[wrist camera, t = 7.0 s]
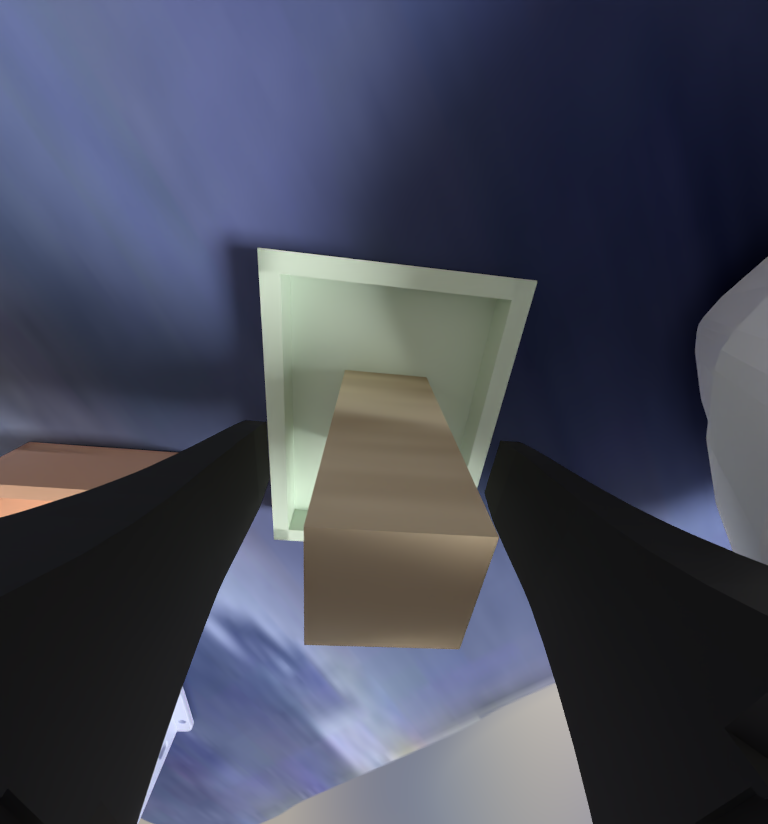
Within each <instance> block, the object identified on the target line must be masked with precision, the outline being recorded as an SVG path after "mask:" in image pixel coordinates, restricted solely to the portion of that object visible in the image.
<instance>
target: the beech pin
mask: <svg viewBox="0 0 768 824" xmlns="http://www.w3.org/2000/svg"><path fill="white" fill-rule="evenodd" d="M498 539H499V536H498V534H497V532H496V530H495V527H494V525H493V523H492V521H491V519H490V516H489V514H488V512H487V510H486V508H485V505H484V503H483V501H482V499H481V496H480V494H479V492H478V490H477V488H476V485H475V483H474V481H473V479H472V477H471V474H470V472H469V470H468V468H467V466H466V463H465V461H464V459H463V457H462V455H461V452H460V450H459V448H458V446H457V444H456V441H455V439H454V437H453V435H452V432H451V430H450V428H449V426H448V424H447V421H446V419H445V417H444V415H443V413H442V410H441V408H440V406H439V404H438V402H437V399H436V397H435V395H434V393H433V391H432V388H431V386H430V384H429V382H428V379H427V377H418V376H407V375H396V374H385V373H374V372H363V371H352V370H345V372H344V376H343V380H342V383H341V387H340V391H339V395H338V399H337V402H336V406H335V410H334V414H333V417H332V421H331V425H330V429H329V433H328V436H327V440H326V444H325V448H324V451H323V455H322V459H321V463H320V467H319V470H318V474H317V478H316V482H315V486H314V489H313V493H312V497H311V501H310V504H309V508H308V512H307V516H306V520H305V523H304V645H330V646H365V647H401V648H436V649H460V646H461V643H462V641H463V638H464V635H465V632H466V629H467V626H468V624H469V621H470V618H471V615H472V612H473V610H474V607H475V604H476V601H477V598H478V595H479V593H480V590H481V587H482V584H483V581H484V579H485V576H486V573H487V570H488V567H489V564H490V562H491V559H492V556H493V553H494V550H495V548H496V545H497V542H498Z"/></svg>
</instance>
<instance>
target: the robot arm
mask: <svg viewBox="0 0 768 824" xmlns="http://www.w3.org/2000/svg"><path fill="white" fill-rule="evenodd" d="M269 478H270V475H269V458H268V441H267V424H266V422H261V421H249V420H245V421H242V422H240V423H237V424H235V425H233V426H231V427H229V428H227V429H225V430H223V431H221V432H219V433H217V434H215V435H213V436H211V437H209V438H207V439H206V440H204V441H202V442H200V443H198V444H196V445H194V446H192V447H190V448H188V449H186V450H184V451H181V452H179V453H177V454H175V455H173V456H171V457H168V458H166V459H164V460H162V461H160V462H158V463H155V464H153V465H151V466H149V467H147V468H144V469H142V470H140V471H137V472H135V473H132V474H130V475H127V476H125V477H122V478H120V479H117V480H114V481H112V482H109V483H106V484H104V485H101V486H98V487H96V488H93V489H90V490H87V491H84V492H81V493H78V494H75V495H72V496H69V497H66V498H62V499H59V500H56V501H53V502H50V503H47V504H44V505H41V506H37V507H34V508H31V509H28V510H25V511H21V512H18V513H15V514H11V515H7V516H4V517H0V824H138V823H139V820H140V818H141V816H142V813H143V811H144V808H145V806H146V804H147V801H148V799H149V796H150V794H151V792H152V789H153V787H154V785H155V782H156V780H157V777H158V775H159V773H160V770H161V768H162V765H163V763H164V761H165V758H166V756H167V753H168V751H169V749H170V746H171V744H172V742H173V739H174V737H175V734H176V732H177V731H190V730H191V729H192V727H193V724H194V721H193V718H192V714H191V711H190V708H189V705H188V702H187V698H186V695H185V692H184V689H183V683H184V681H185V678H186V675H187V672H188V670H189V667H190V664H191V661H192V659H193V656H194V653H195V651H196V648H197V645H198V642H199V640H200V637H201V634H202V632H203V629H204V626H205V624H206V621H207V619H208V616H209V614H210V611H211V608H212V606H213V603H214V601H215V598H216V596H217V593H218V591H219V589H220V587H221V584H222V582H223V580H224V578H225V576H226V574H227V572H228V570H229V568H230V566H231V564H232V562H233V560H234V558H235V556H236V554H237V552H238V550H239V548H240V546H241V544H242V542H243V540H244V538H245V536H246V534H247V532H248V530H249V528H250V526H251V524H252V522H253V520H254V518H255V516H256V514H257V512H258V510H259V508H260V505H261V502H262V499H263V497H264V494H265V491H266V488H267V485H268V482H269ZM485 495H486V499H487V503H488V507H489V510H490V513H491V516H492V520H493V522H494V525H495V527H496V529H497V532H498V534H499V536H500V538H501V541H502V543H503V545H504V547H505V550H506V552H507V554H508V556H509V558H510V561H511V563H512V565H513V567H514V569H515V572H516V574H517V576H518V578H519V580H520V583H521V585H522V587H523V589H524V591H525V594H526V596H527V599H528V601H529V604H530V606H531V609H532V612H533V615H534V618H535V621H536V624H537V627H538V629H539V632H540V635H541V638H542V641H543V644H544V647H545V650H546V654H547V657H548V660H549V663H550V666H551V670H552V673H553V676H554V679H555V682H556V685H557V689H558V692H559V696H560V699H561V702H562V706H563V710H564V713H565V717H566V720H567V724H568V727H569V731H570V734H571V738H572V742H573V745H574V749H575V753H576V757H577V761H578V765H579V769H580V773H581V777H582V781H583V785H584V789H585V793H586V796H587V801H588V805H589V809H590V813H591V817H592V822H593V824H768V565H766V564H763V563H761V562H758V561H755V560H753V559H750V558H748V557H745V556H743V555H740V554H737V553H735V552H733V551H730V550H728V549H725V548H723V547H721V546H718V545H716V544H713V543H711V542H709V541H706V540H704V539H701V538H699V537H697V536H694V535H692V534H690V533H688V532H685V531H683V530H681V529H679V528H677V527H674V526H672V525H670V524H668V523H666V522H664V521H662V520H660V519H658V518H656V517H654V516H651V515H649V514H647V513H645V512H643V511H641V510H639V509H637V508H635V507H633V506H631V505H629V504H628V503H626V502H624V501H622V500H620V499H618V498H617V497H615V496H613V495H611V494H609V493H607V492H606V491H604V490H602V489H600V488H598V487H597V486H595V485H593V484H592V483H590V482H588V481H586V480H585V479H583V478H581V477H580V476H578V475H576V474H575V473H573V472H571V471H570V470H568V469H566V468H565V467H563V466H561V465H560V464H558V463H556V462H555V461H553V460H551V459H550V458H548V457H547V456H545V455H543V454H541V453H540V452H538V451H536V450H534V449H533V448H531V447H529V446H527V445H525V444H523V443H520V442H513V441H500V444H499V447H498V450H497V454H496V457H495V460H494V463H493V467H492V470H491V473H490V477H489V480H488V483H487V486H486V490H485Z"/></svg>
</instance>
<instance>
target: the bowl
mask: <svg viewBox="0 0 768 824" xmlns="http://www.w3.org/2000/svg"><path fill="white" fill-rule="evenodd" d="M695 356H696V364H697V372H698V380H699V388H700V395H701V401H702V404H703V407H704V410H705V413H706V416H707V419H708V427H707V435H706V442H707V448H708V455H709V461H710V468H711V475H712V481H713V488H714V494H715V501H716V505H717V508H718V511H719V514H720V516H721V519H722V522H723V525H724V528H725V530H726V533H727V536H728V539H729V541H730V544H731V547H732V550H733V552H735V553H737V554H740V555H743V556H745V557H748V558H750V559H753V560H755V561H758V562H761V563H763V564H766V565H768V257H767V258H765V259H764V260H763V261H762V262H761V263H760V264H759V265H757V266H756V267H755V268H754V269H753V270H752V271H751V272H749V273H748V274H747V275H746V276H745V277H744V278H743V279H741V280H740V281H739V282H738V283H737V284H736V285H734V286H733V287H732V288H731V289H730V290H729V291H728V292H726V293H725V294H724V295H723V296H722V297H721V298H720V299H719V300H718V301H717V302H716V304H715V305H714V306H713V307H712V308H711V309H710V310H709V311H708V312H707V314H706V315H705V316H704V317H703V318H702V320H701V321H700V323H699V324H698V329H697V333H696V344H695Z"/></svg>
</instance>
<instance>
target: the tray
mask: <svg viewBox="0 0 768 824" xmlns="http://www.w3.org/2000/svg"><path fill="white" fill-rule="evenodd" d="M257 251H258V269H259V286H260V303H261V321H262V338H263V355H264V373H265V390H266V407H267V425H268V442H269V459H270V476H271V494H272V511H273V528H274V540H291V541H304V523H305V520H306V516H307V512H308V508H309V504H310V501H311V497H312V493H313V489H314V486H315V482H316V478H317V474H318V470H319V467H320V463H321V459H322V455H323V451H324V448H325V444H326V440H327V436H328V433H329V429H330V425H331V421H332V417H333V414H334V410H335V406H336V402H337V399H338V395H339V391H340V387H341V383H342V380H343V376H344V372H345V370H352V371H363V372H374V373H385V374H396V375H407V376H418V377H427V379H428V382H429V384H430V386H431V388H432V391H433V393H434V395H435V397H436V399H437V402H438V404H439V406H440V408H441V410H442V413H443V415H444V417H445V419H446V421H447V424H448V426H449V428H450V430H451V432H452V435H453V437H454V439H455V441H456V444H457V446H458V448H459V450H460V452H461V455H462V457H463V459H464V461H465V463H466V466H467V468H468V470H469V472H470V474H471V477H472V479H473V481H474V483H475V485H476V488H477V487H478V484H479V480H480V477H481V473H482V470H483V466H484V463H485V460H486V456H487V453H488V449H489V446H490V442H491V439H492V436H493V432H494V429H495V425H496V422H497V418H498V415H499V412H500V408H501V405H502V401H503V398H504V394H505V391H506V388H507V384H508V381H509V377H510V374H511V370H512V367H513V364H514V360H515V357H516V353H517V350H518V346H519V343H520V340H521V336H522V333H523V329H524V326H525V322H526V319H527V316H528V312H529V309H530V305H531V302H532V298H533V295H534V292H535V288H536V285H537V281H535V280H527V279H519V278H510V277H502V276H493V275H485V274H477V273H468V272H460V271H451V270H443V269H434V268H426V267H417V266H409V265H400V264H392V263H384V262H375V261H367V260H358V259H350V258H341V257H333V256H324V255H316V254H307V253H299V252H291V251H282V250H274V249H265V248H257Z"/></svg>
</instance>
